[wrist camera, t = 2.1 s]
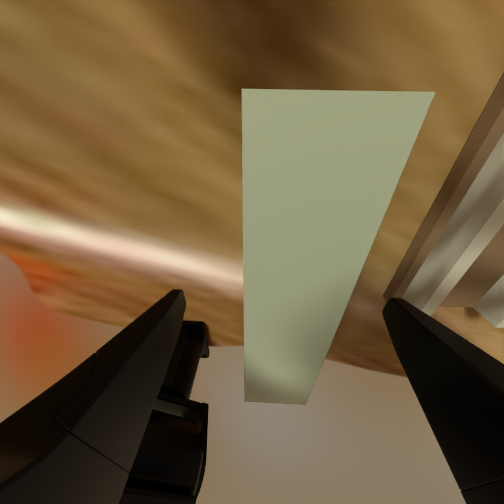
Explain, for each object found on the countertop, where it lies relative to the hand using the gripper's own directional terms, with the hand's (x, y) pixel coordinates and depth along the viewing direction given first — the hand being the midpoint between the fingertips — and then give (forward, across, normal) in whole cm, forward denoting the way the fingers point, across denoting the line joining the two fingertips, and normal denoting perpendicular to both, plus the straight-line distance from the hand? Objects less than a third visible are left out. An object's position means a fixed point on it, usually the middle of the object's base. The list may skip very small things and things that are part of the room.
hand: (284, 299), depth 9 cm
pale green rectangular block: (+8, 0, 0) cm, 8 cm away
